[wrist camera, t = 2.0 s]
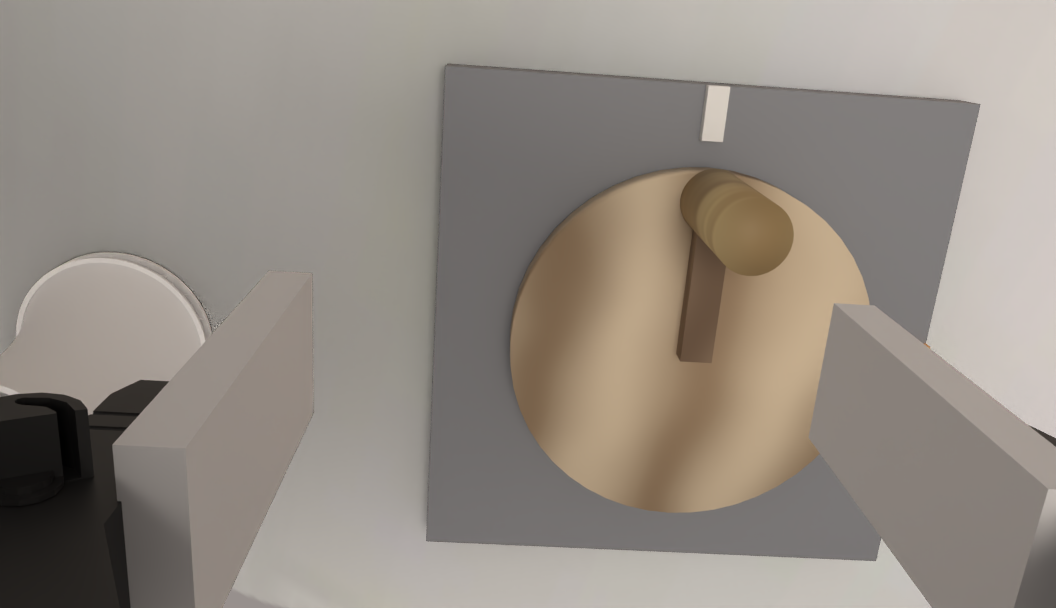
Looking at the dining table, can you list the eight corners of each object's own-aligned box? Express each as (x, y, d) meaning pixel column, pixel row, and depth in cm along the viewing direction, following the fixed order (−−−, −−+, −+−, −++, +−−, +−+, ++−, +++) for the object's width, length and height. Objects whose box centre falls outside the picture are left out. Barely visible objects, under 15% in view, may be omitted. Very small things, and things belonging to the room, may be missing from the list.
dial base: (429, 522, 39) (425, 546, 38) (447, 63, 33) (444, 66, 31) (862, 541, 40) (879, 566, 39) (960, 100, 34) (986, 105, 32)
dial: (499, 485, 37) (499, 589, 30) (522, 149, 32) (528, 184, 26) (823, 501, 38) (892, 605, 31) (889, 174, 33) (986, 214, 27)
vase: (176, 448, 38) (67, 593, 28) (4, 375, 37) (-169, 502, 27) (241, 302, 36) (148, 405, 26) (63, 219, 35) (-103, 297, 25)
